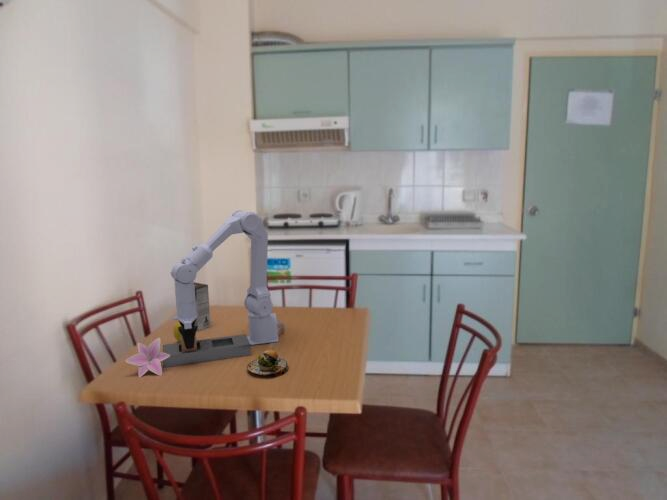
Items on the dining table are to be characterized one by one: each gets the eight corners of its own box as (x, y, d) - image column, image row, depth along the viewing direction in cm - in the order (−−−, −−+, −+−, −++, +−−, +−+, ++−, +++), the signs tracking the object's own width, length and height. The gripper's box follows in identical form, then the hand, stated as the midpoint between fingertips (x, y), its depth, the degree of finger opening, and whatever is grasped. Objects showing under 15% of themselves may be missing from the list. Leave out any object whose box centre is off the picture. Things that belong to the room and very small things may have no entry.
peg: (197, 354, 156) (195, 333, 154) (197, 359, 152) (196, 337, 150) (182, 356, 154) (180, 334, 153) (182, 361, 150) (181, 339, 149)
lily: (122, 377, 142) (120, 358, 137) (143, 351, 151) (142, 331, 145) (157, 390, 141) (156, 370, 136) (176, 362, 150) (176, 343, 144)
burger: (242, 367, 145) (241, 343, 144) (280, 359, 150) (279, 336, 149) (253, 383, 135) (251, 357, 133) (293, 374, 139) (292, 349, 138)
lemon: (186, 346, 162) (184, 323, 161) (171, 345, 163) (169, 322, 162) (194, 340, 168) (192, 318, 166) (179, 339, 169) (177, 317, 167)
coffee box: (181, 327, 182) (177, 285, 179) (194, 322, 187) (191, 281, 184) (198, 331, 177) (195, 288, 174) (211, 326, 182) (208, 284, 179)
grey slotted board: (246, 344, 163) (245, 334, 162) (250, 355, 154) (250, 344, 153) (163, 355, 155) (162, 344, 155) (163, 367, 146) (162, 356, 145)
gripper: (172, 297, 155) (175, 338, 158) (172, 309, 142) (176, 354, 144) (195, 294, 157) (198, 335, 160) (197, 306, 144) (200, 350, 146)
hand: (189, 344), depth 152 cm, fingers open, 7 cm apart
